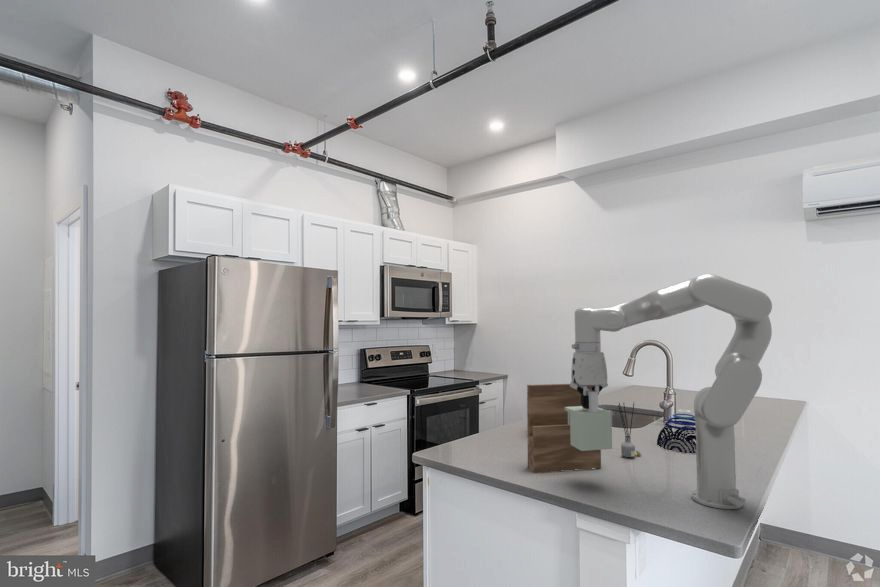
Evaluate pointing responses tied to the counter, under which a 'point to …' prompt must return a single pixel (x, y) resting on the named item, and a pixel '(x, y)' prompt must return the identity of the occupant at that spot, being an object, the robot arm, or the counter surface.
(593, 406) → the pale green pegged cube
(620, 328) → the robot arm
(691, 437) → the decorative bowl
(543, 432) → the wooden board stand
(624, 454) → the reed diffuser
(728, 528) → the counter surface
